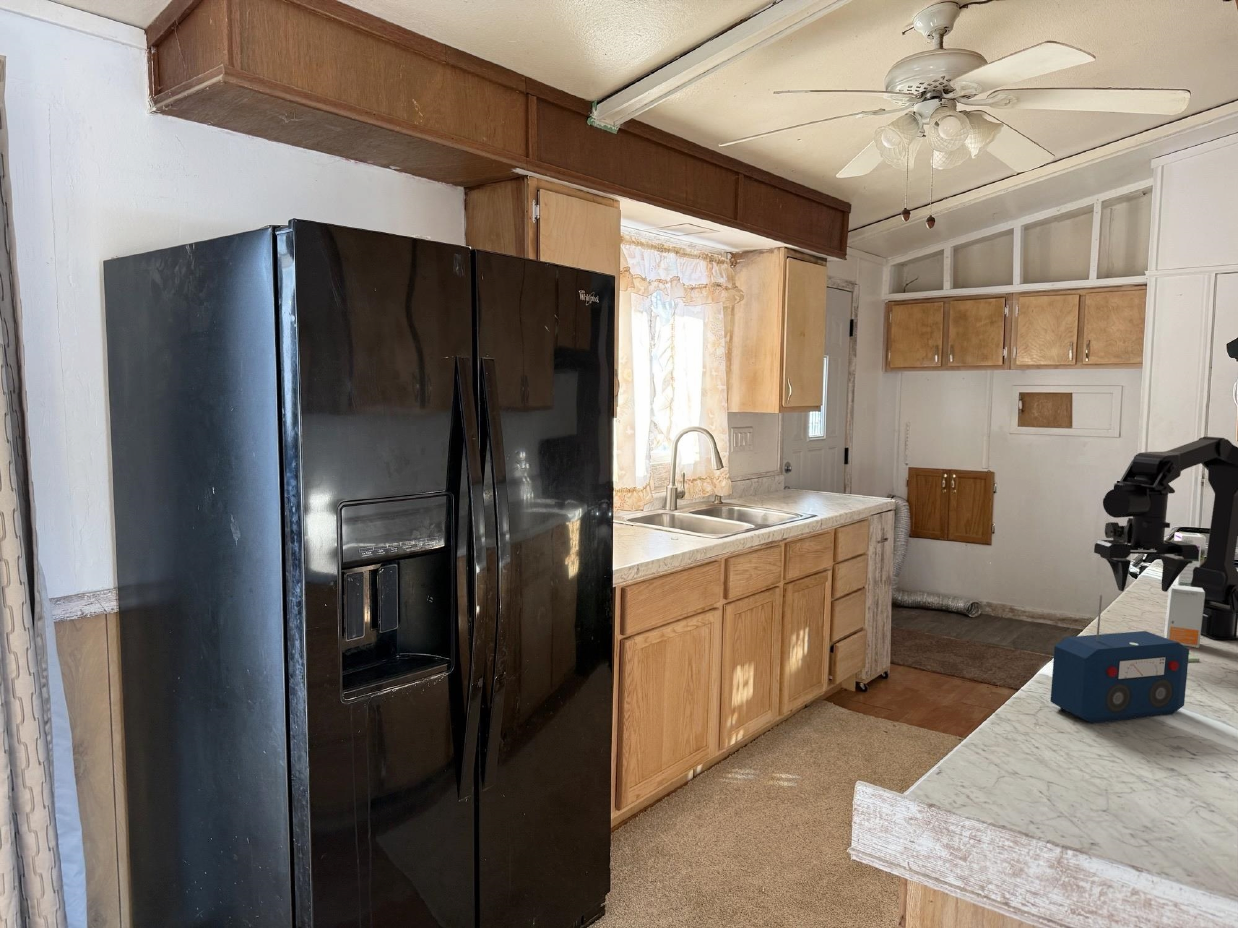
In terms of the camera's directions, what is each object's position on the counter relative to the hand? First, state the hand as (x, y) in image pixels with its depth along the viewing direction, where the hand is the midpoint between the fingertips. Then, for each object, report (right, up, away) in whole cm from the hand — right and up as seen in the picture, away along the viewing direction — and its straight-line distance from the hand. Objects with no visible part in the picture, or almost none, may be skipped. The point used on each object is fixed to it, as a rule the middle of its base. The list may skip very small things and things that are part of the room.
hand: (1142, 590), depth 174 cm
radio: (-24, -15, -33) cm, 43 cm away
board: (+3, -12, +1) cm, 13 cm away
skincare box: (+12, -12, +5) cm, 18 cm away
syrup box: (+46, -7, +56) cm, 73 cm away
